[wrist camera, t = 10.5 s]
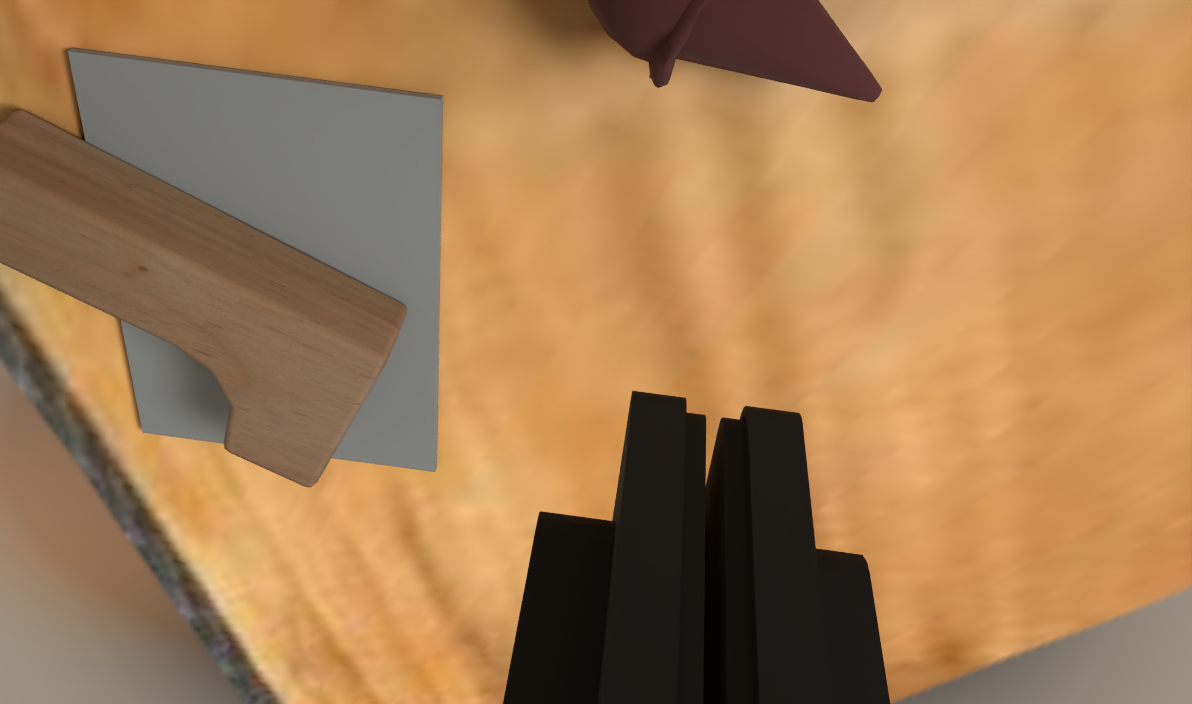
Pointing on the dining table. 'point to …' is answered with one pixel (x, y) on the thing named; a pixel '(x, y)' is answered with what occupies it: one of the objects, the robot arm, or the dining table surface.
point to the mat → (289, 216)
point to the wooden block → (200, 291)
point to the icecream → (741, 41)
